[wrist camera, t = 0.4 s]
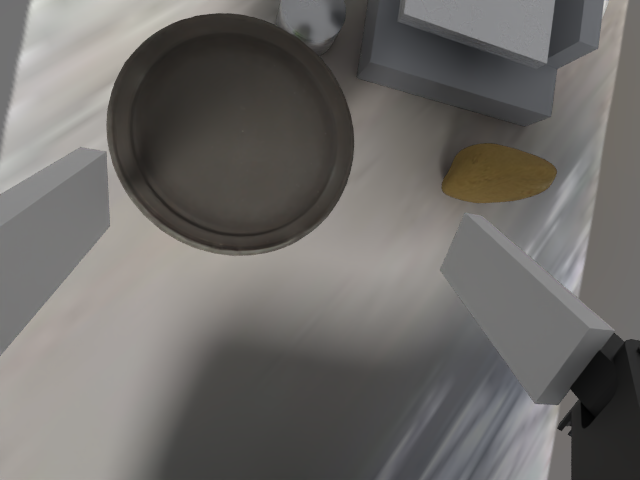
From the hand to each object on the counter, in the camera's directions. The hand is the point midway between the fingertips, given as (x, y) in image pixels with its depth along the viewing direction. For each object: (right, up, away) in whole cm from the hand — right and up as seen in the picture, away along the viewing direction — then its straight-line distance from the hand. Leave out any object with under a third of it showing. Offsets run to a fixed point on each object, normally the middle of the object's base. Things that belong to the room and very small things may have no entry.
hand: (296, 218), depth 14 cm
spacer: (0, +17, +17) cm, 24 cm away
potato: (+14, +5, +21) cm, 26 cm away
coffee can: (-6, +4, +16) cm, 17 cm away
